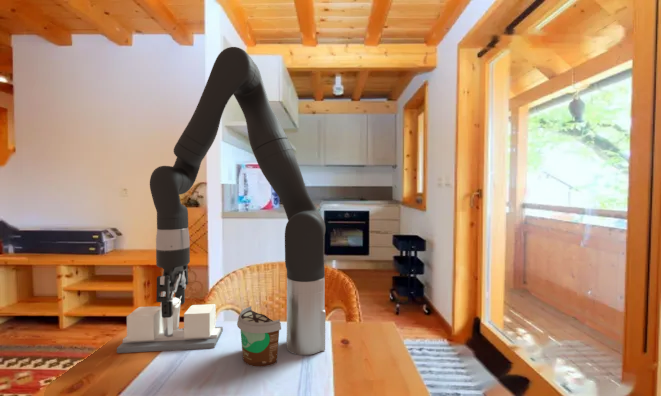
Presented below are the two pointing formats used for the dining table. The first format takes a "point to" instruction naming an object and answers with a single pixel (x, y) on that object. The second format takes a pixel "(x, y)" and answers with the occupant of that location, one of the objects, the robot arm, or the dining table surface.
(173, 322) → the milkshake
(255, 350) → the food container
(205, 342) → the twin block base plate
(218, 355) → the dining table surface
